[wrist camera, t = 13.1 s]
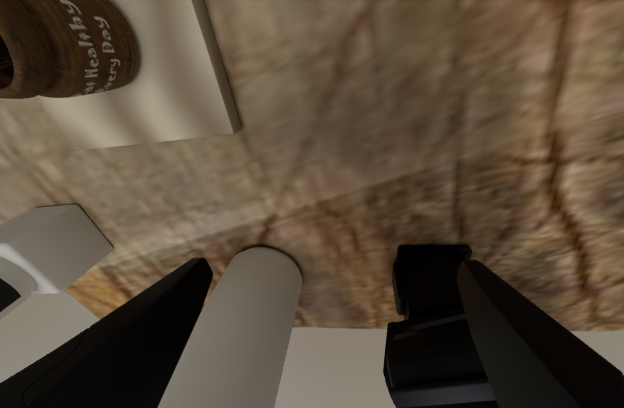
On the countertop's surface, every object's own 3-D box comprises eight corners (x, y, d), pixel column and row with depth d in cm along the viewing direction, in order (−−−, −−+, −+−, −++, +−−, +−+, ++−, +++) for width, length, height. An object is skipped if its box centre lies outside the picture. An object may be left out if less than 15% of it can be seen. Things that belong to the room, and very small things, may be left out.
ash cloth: (160, -144, 12) (139, -165, 11) (241, 128, 20) (233, 133, 19) (-48, -62, 16) (-82, -71, 14) (88, 145, 23) (73, 150, 22)
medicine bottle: (34, 206, 29) (-129, 288, 20) (78, 202, 28) (-75, 290, 18) (74, 249, 33) (-45, 337, 23) (115, 248, 32) (5, 341, 22)
